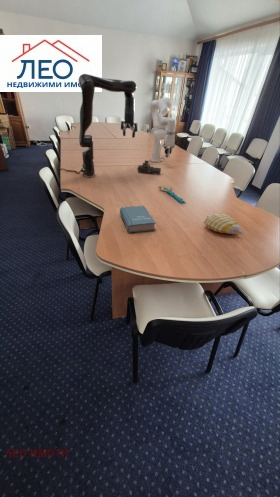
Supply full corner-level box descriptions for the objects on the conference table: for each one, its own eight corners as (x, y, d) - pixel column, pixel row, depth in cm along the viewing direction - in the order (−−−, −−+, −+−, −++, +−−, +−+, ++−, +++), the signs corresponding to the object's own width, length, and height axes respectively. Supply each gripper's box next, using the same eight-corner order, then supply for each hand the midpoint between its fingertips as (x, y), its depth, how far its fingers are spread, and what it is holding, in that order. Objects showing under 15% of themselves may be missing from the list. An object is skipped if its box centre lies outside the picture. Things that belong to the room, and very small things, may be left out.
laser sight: (159, 175, 211) (160, 165, 205) (136, 173, 213) (137, 162, 208) (160, 172, 218) (161, 162, 212) (138, 170, 221) (139, 159, 215)
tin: (168, 156, 228) (169, 147, 223) (170, 157, 225) (171, 148, 219) (164, 156, 227) (165, 147, 221) (166, 157, 224) (167, 148, 218)
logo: (158, 186, 187) (158, 185, 187) (168, 186, 190) (168, 185, 189) (173, 203, 162) (174, 202, 161) (185, 203, 164) (186, 201, 164)
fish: (254, 225, 128) (232, 232, 118) (249, 236, 132) (228, 244, 123) (221, 208, 144) (199, 213, 134) (217, 218, 149) (196, 224, 139)
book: (154, 230, 131) (155, 222, 128) (128, 232, 126) (128, 225, 124) (143, 212, 148) (143, 205, 145) (119, 214, 144) (120, 207, 141)
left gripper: (139, 114, 168) (138, 137, 178) (124, 112, 174) (124, 134, 183) (134, 114, 163) (133, 138, 173) (118, 112, 168) (118, 136, 178)
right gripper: (176, 132, 218) (173, 152, 229) (160, 132, 213) (158, 152, 224) (179, 134, 213) (176, 154, 224) (164, 134, 207) (162, 154, 218)
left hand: (128, 136), depth 178 cm, fingers open, 8 cm apart
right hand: (167, 153), depth 224 cm, fingers closed on tin, 4 cm apart
